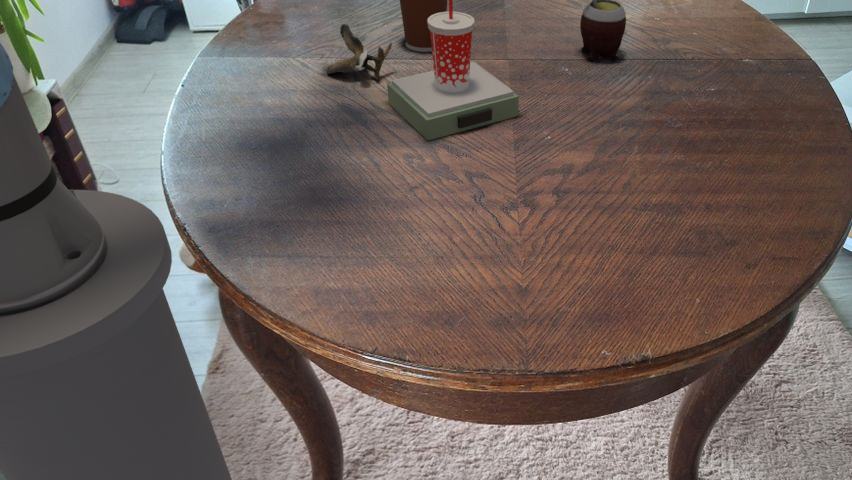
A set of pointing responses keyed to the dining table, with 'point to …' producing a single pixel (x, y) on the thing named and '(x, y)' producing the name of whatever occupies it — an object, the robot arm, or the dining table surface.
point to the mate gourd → (602, 28)
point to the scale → (452, 103)
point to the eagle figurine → (357, 55)
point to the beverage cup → (451, 49)
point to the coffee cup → (419, 21)
